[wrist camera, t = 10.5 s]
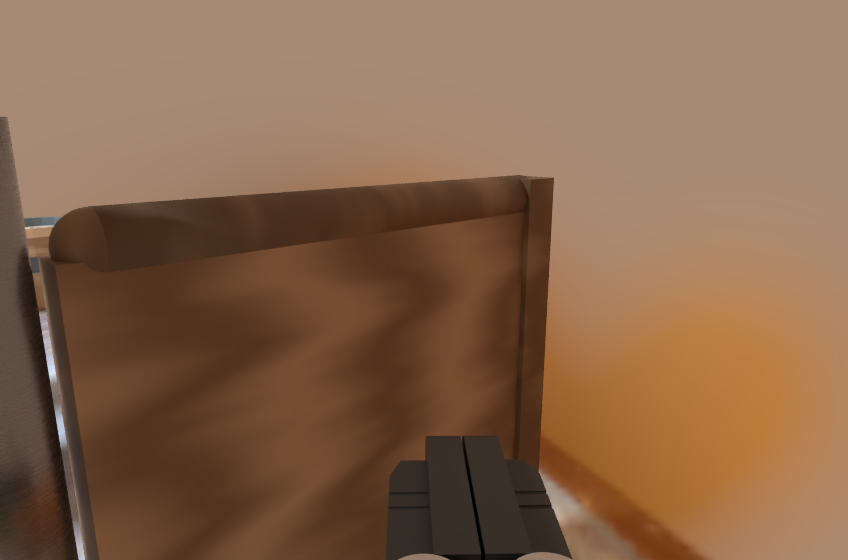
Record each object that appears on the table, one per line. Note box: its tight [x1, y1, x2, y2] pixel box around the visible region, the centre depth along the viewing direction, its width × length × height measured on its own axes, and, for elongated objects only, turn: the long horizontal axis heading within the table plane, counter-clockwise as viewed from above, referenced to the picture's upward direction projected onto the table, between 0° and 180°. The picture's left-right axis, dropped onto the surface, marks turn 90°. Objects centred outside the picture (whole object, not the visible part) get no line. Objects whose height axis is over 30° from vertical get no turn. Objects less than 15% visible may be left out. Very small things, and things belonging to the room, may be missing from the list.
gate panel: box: [38, 175, 554, 560], centre depth 21 cm, size 18×2×17 cm, turn 134°
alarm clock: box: [24, 217, 62, 309], centre depth 73 cm, size 17×9×23 cm
